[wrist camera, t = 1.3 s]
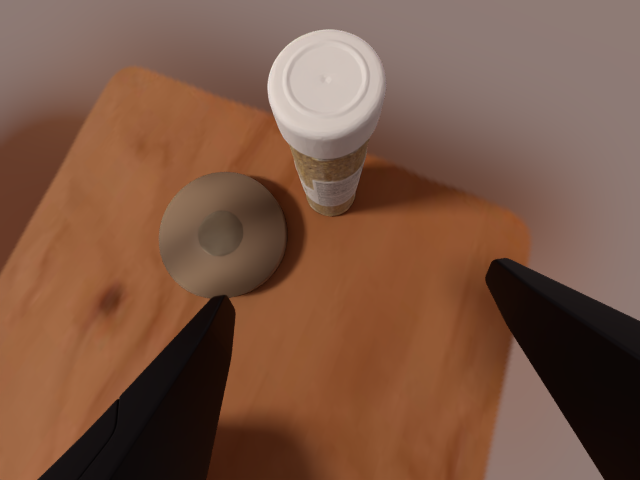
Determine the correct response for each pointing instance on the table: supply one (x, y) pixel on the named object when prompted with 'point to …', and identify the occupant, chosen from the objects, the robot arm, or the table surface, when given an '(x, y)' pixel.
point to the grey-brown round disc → (222, 235)
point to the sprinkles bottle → (327, 111)
